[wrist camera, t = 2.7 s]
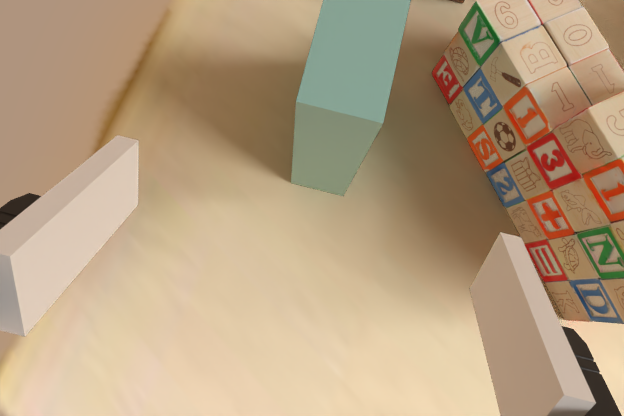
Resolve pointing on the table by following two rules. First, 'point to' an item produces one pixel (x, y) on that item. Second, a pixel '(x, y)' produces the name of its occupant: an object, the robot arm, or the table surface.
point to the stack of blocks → (548, 140)
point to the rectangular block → (345, 89)
